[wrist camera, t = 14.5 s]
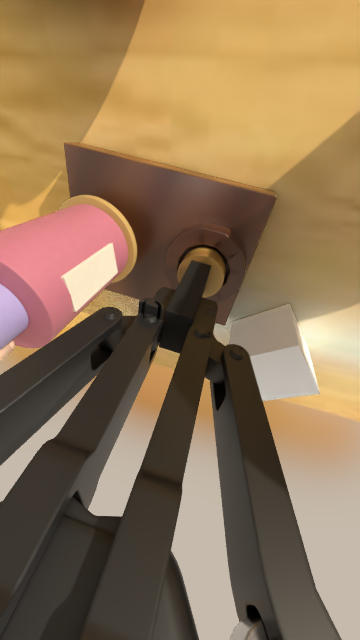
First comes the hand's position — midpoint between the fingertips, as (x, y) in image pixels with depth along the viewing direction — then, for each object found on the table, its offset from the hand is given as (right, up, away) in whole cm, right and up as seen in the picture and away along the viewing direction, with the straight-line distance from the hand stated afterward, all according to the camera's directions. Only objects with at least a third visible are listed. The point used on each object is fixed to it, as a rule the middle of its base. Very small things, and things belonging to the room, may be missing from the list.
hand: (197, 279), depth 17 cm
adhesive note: (+8, -5, +8) cm, 12 cm away
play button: (+1, +1, +2) cm, 2 cm away
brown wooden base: (-3, +4, +4) cm, 7 cm away
